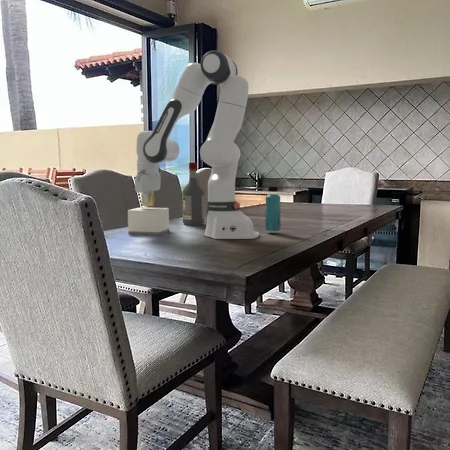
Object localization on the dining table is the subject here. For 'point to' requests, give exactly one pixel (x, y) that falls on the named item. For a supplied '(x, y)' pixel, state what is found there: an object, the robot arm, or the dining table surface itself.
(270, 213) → the beverage bottle
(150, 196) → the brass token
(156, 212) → the money box
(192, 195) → the liquor
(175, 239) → the dining table surface
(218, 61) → the robot arm
